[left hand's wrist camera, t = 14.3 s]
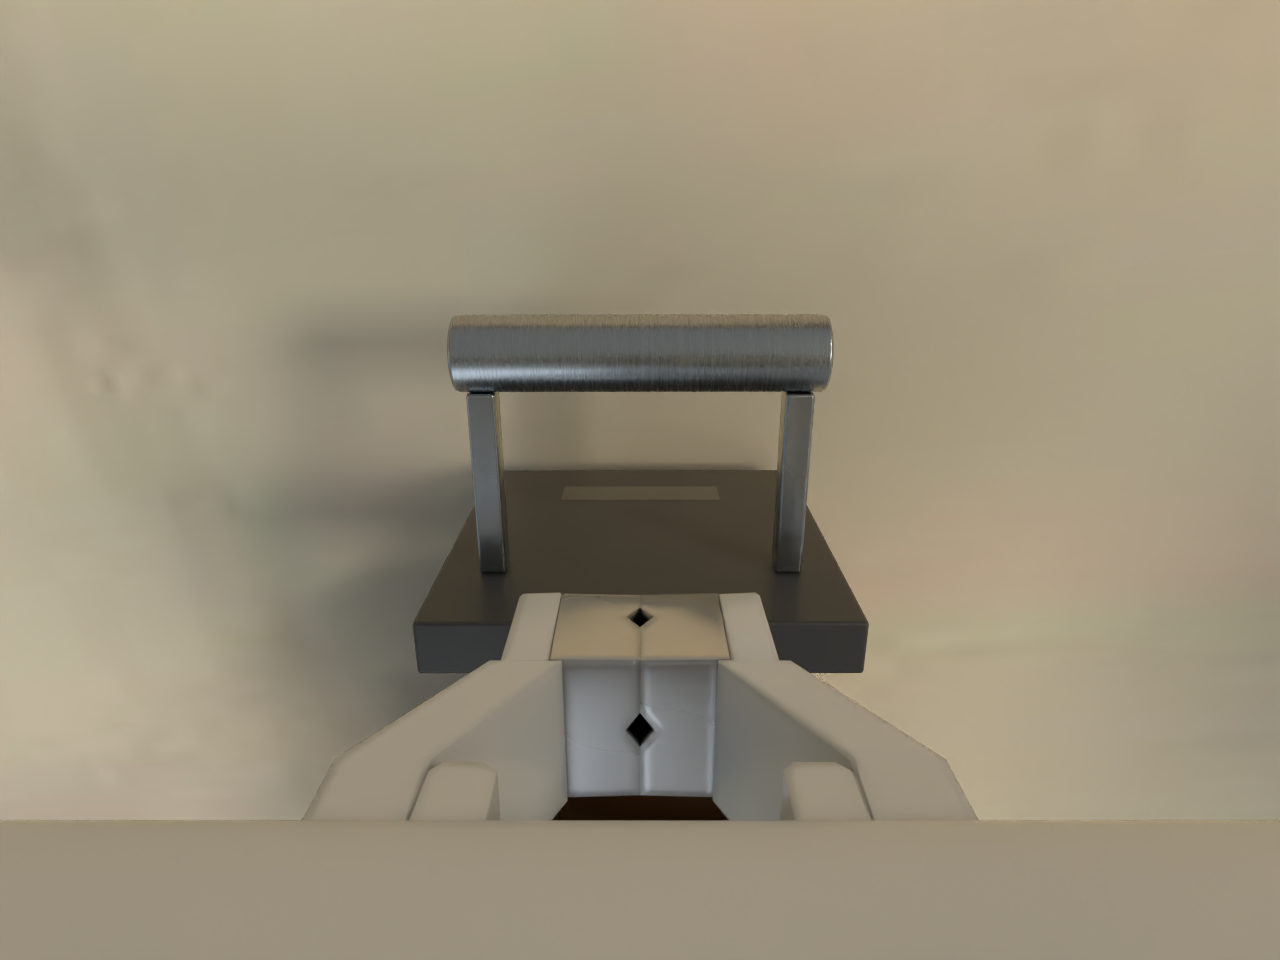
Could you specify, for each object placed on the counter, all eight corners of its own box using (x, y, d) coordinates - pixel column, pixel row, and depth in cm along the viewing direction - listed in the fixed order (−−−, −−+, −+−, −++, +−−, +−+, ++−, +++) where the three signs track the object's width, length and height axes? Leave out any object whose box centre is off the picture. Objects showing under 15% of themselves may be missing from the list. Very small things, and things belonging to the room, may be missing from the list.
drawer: (478, 279, 22) (378, 336, 14) (802, 279, 22) (902, 335, 14) (525, 950, 31) (482, 1237, 23) (756, 949, 31) (799, 1237, 23)
